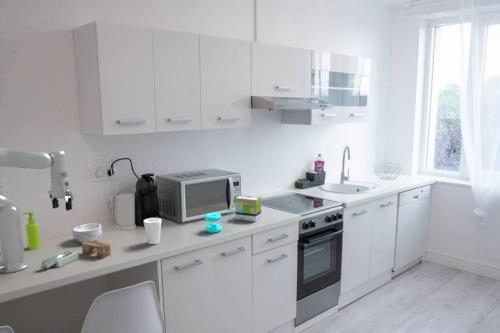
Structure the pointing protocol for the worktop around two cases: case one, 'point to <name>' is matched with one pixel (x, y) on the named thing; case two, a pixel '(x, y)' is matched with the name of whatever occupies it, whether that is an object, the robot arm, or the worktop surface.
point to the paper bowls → (87, 232)
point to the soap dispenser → (32, 232)
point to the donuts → (213, 218)
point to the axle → (55, 259)
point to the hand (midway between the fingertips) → (62, 208)
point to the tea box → (248, 208)
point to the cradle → (66, 259)
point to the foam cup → (153, 230)
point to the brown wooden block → (96, 248)
